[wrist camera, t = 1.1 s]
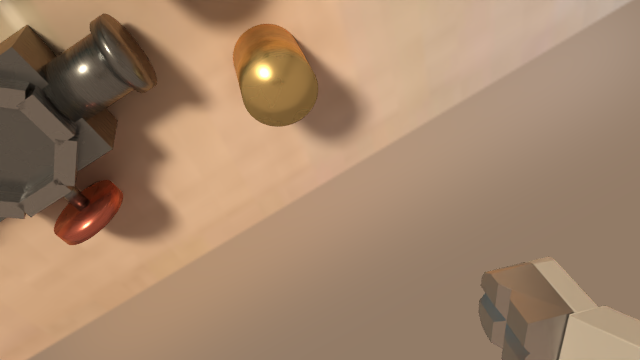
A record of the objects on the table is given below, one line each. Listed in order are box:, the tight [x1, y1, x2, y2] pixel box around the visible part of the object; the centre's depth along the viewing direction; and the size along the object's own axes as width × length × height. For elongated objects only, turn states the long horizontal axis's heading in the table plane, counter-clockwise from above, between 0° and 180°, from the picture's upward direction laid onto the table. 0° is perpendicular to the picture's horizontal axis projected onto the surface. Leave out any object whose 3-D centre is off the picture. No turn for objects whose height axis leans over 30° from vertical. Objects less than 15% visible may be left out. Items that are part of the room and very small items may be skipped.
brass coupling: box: [233, 24, 318, 126], centre depth 36 cm, size 5×5×6 cm
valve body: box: [0, 14, 157, 245], centre depth 35 cm, size 19×12×5 cm, turn 120°
